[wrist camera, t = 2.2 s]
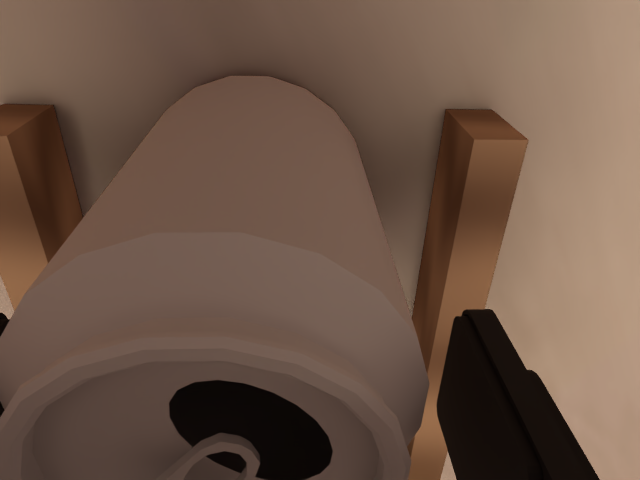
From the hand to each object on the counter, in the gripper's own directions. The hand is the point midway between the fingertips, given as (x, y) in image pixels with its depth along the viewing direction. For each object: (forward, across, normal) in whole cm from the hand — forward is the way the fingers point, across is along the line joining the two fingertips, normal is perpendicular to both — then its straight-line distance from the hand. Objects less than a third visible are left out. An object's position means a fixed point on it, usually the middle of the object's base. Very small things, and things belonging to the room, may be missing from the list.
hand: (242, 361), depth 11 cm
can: (+9, 0, -1) cm, 9 cm away
